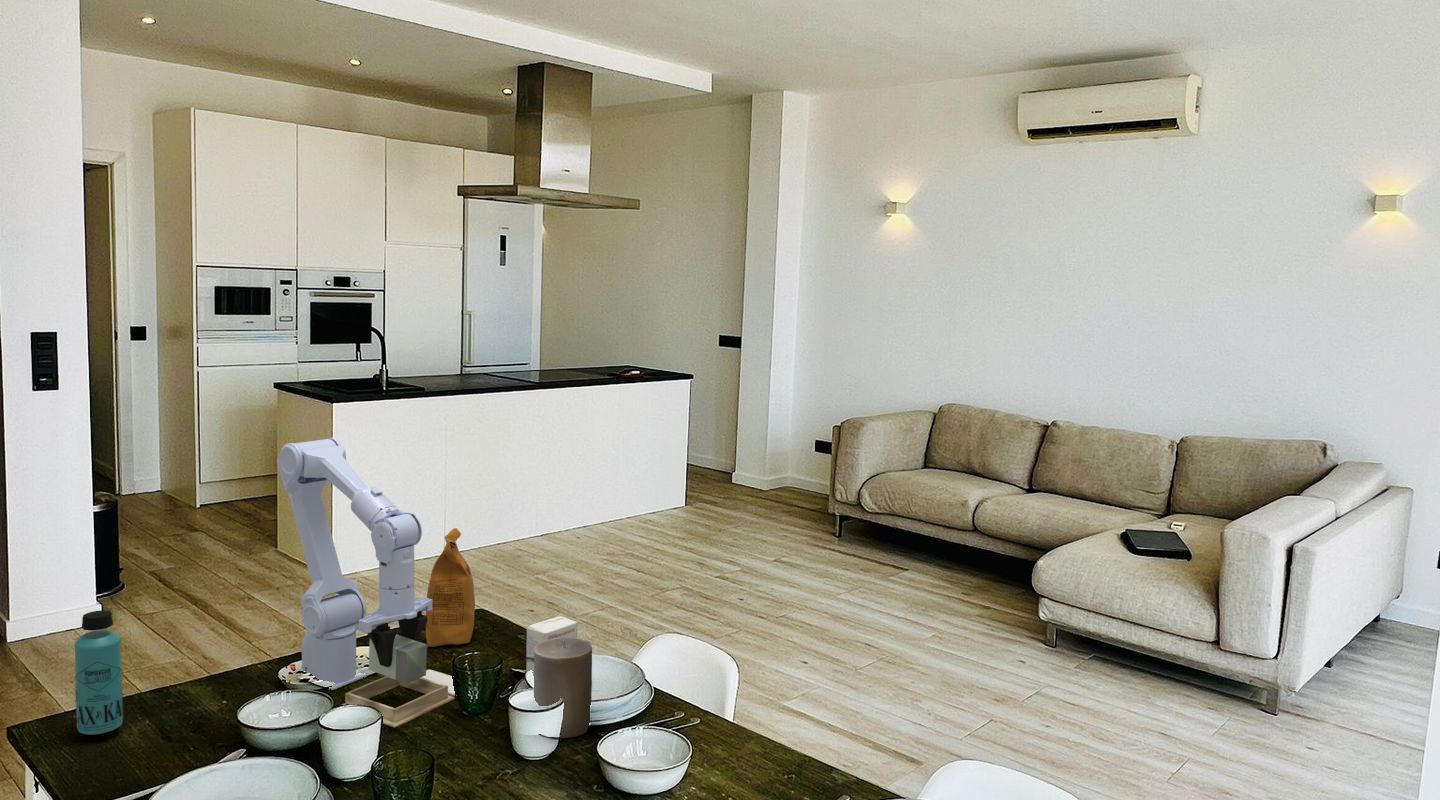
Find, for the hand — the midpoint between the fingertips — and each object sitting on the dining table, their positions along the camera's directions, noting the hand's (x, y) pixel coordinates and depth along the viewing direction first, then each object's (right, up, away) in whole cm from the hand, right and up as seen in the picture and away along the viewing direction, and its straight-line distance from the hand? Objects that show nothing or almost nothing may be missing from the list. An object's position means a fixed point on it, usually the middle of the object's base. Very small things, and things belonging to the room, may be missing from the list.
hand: (396, 660), depth 173 cm
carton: (0, -8, +1) cm, 8 cm away
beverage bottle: (-42, -8, -14) cm, 45 cm away
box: (0, -2, 0) cm, 2 cm away
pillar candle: (+29, -10, -5) cm, 31 cm away
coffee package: (+1, -4, +32) cm, 33 cm away
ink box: (+25, -8, +11) cm, 28 cm away
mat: (+5, -7, +10) cm, 13 cm away
